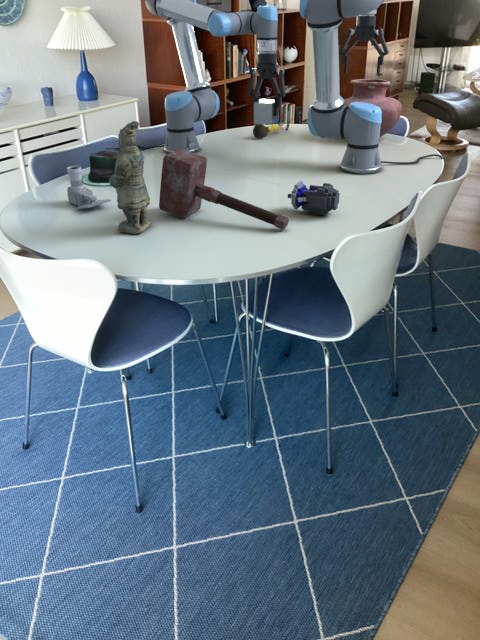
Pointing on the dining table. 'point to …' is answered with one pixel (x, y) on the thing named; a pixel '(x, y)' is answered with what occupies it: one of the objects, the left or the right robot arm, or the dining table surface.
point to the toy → (315, 198)
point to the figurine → (267, 129)
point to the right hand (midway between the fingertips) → (361, 73)
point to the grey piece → (80, 190)
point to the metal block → (265, 112)
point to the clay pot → (377, 101)
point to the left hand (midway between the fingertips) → (266, 114)
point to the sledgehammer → (200, 190)
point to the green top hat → (101, 168)
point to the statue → (131, 182)
